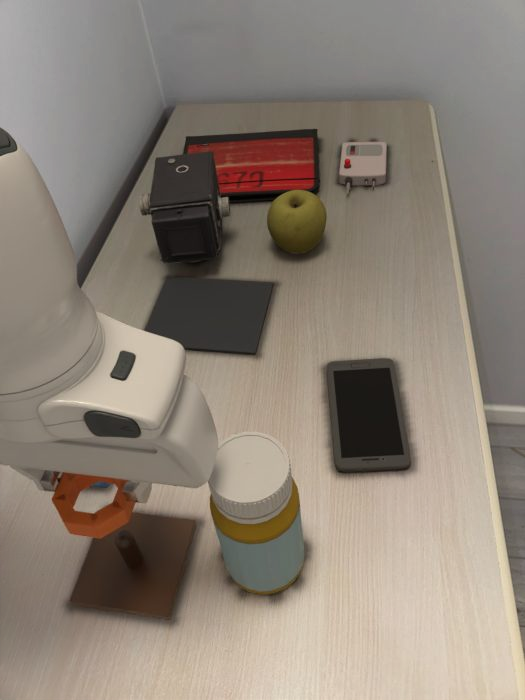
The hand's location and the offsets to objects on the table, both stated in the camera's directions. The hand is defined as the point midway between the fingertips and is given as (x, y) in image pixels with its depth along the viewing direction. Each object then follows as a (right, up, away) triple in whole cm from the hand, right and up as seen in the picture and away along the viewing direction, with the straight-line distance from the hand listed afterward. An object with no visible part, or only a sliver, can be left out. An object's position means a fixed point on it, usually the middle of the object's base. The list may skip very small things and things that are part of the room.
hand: (96, 489), depth 52 cm
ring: (0, -1, +1) cm, 1 cm away
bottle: (+13, -8, +8) cm, 17 cm away
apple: (+18, +24, +38) cm, 48 cm away
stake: (+1, -8, +9) cm, 13 cm away
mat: (+6, +15, +30) cm, 34 cm away
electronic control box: (+28, +37, +49) cm, 67 cm away
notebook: (+11, +38, +51) cm, 64 cm away
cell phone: (+23, +4, +18) cm, 30 cm away
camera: (+4, +25, +40) cm, 47 cm away
